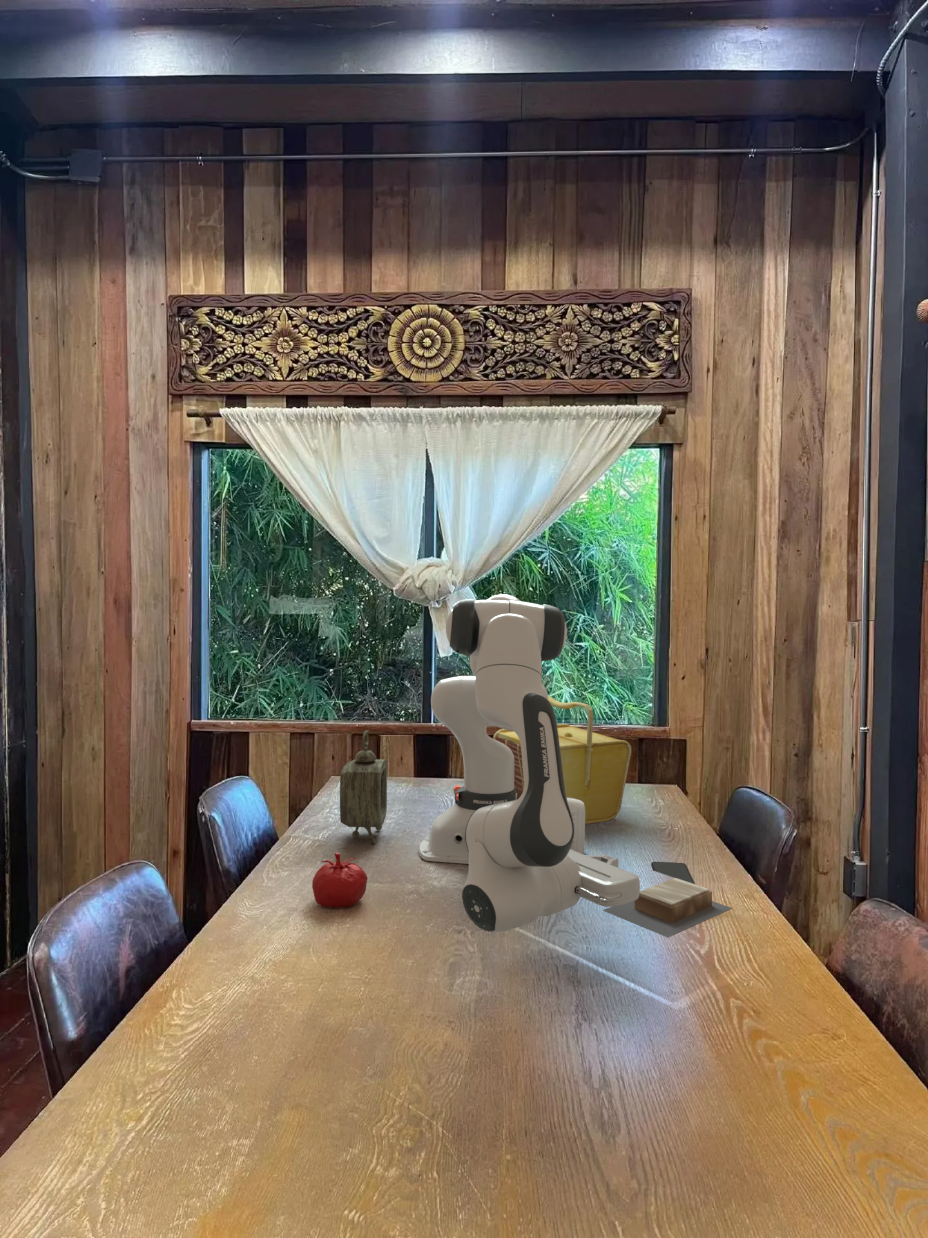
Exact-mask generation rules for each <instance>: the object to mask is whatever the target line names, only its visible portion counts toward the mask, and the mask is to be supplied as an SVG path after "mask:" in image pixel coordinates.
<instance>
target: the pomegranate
mask: <svg viewBox="0 0 928 1238" xmlns="http://www.w3.org/2000/svg"><path fill="white" fill-rule="evenodd" d="M334 857H335V862H333V861H331V859H326V860H321V862H322V863H326V864H323V865H322V866H321V867H320V868H319V869H318V870H317V871H316V872H315V874H314V876H313V879H312V883H311V884H312V892H313V897H314V900H315V902H316V903H317V905H318V906H321V907H322V908H328V909H329V908H330V909H340V908H341V909H347V908H350V907H352V906H354V905H356V904H358V903H359V902H360V901H361V900H362V899H363V897H364V895H365V894H366V890H367V883H368V875H367V873H366V871H365V870H364V869H363V868H362V867H361V866H360V865H359V864H356V863H355V862H349V861H350V860H356V859H357V858H356V857H354V858H353V857H351V858H348V859H345V860H344V861H343V862H342V861H341V853H339V852H334Z"/></svg>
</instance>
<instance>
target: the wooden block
mask: <svg viewBox="0 0 928 1238" xmlns="http://www.w3.org/2000/svg"><path fill="white" fill-rule="evenodd" d="M712 901H713V891H712V890H710V889H709V888H707V887H704V886H701V885H697V884H696V883H695V884H692V883H689V882H686V881H683V880H681V879H678V878H671V879H668V880H667V881H663V882H661V883H659V884H655V885H652V886H650V887H647V888H645V889H642V890H640V893H639V898H638V899H637V900H635V909H638V910H640V911H643V912H645V913H648V914H650V915H653V916H655V917H658V918H660V919H663V920H665V921H668V922H670V923H673V922H675V921H677V920H680V919H682V918H684V917H687V916H689V915H691V914H694V913H696V912H698V911H700V910H703V909H705V908H707V907H710V906H712Z"/></svg>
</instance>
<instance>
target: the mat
mask: <svg viewBox="0 0 928 1238" xmlns="http://www.w3.org/2000/svg"><path fill="white" fill-rule="evenodd" d="M729 910H733V908H732V907H730V906H728V905H725V904H722V903H719V902H716V901H713V900H712V906H710V907H707V908H705V909H703V910H700V911H698V912H696V913H694V914H691V915H689V916H687V917H684V918H682V919H680V920H677V921H675V922H673V923H670V922H668V921H665V920H663V919H660V918H658V917H655V916H653V915H650V914H648V913H645V912H643V911H640V910H638V909H635V901H632V902H629V903H626V904H622V905H618V906H613V907H606V908H605V909H602V911H603V912H606V913H608V914H609V915H610V914H611V915H613V916H616V917H618V918H621V919H623V920H625V921H627V922H630V923H631V924H634V925H638V926H640V927H642V928H645V929H646V930H649V931H651V932H654V933H657V934H659V935H661V936H664V937H666V938H671V937H672V936H675V935H676V934H679V933H681V932H683V931H686V930H687V929H690V928H692V927H694V926H697V925H699V924H701V923H703V922H705V921H707V920H709V919H712V918H714V917H716V916H718V915H721V914H723V913H726V912H727V911H729Z"/></svg>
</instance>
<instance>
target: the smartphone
mask: <svg viewBox="0 0 928 1238" xmlns="http://www.w3.org/2000/svg"><path fill="white" fill-rule="evenodd" d="M650 866H651V868H652V872H656V873H659V874H662V875H665V876H667V877H671V878H672V879H674V878H678V879H681V880H683V881H686V882H689V883H692V884H695V885H696V883H695V881H694V879H693V877H692V875H691V873H690V871H689V867H687V864H686V863H684V862H674V861H673V862H669V861H652V862H651V865H650ZM657 883H658V884H660V883H659V882H657ZM658 884H657V885H658Z"/></svg>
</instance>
